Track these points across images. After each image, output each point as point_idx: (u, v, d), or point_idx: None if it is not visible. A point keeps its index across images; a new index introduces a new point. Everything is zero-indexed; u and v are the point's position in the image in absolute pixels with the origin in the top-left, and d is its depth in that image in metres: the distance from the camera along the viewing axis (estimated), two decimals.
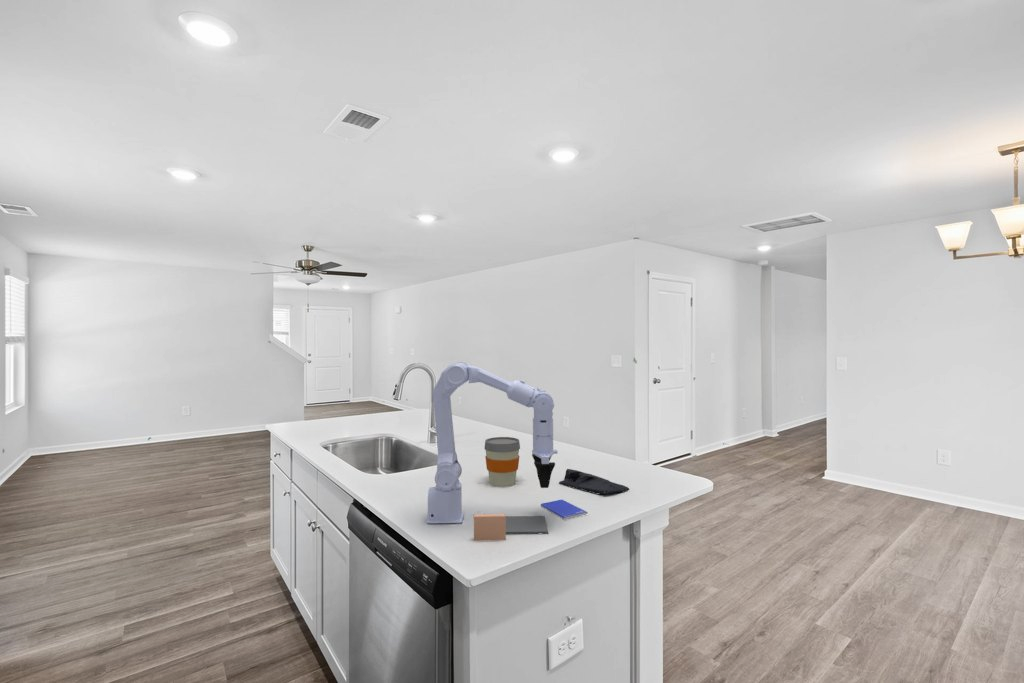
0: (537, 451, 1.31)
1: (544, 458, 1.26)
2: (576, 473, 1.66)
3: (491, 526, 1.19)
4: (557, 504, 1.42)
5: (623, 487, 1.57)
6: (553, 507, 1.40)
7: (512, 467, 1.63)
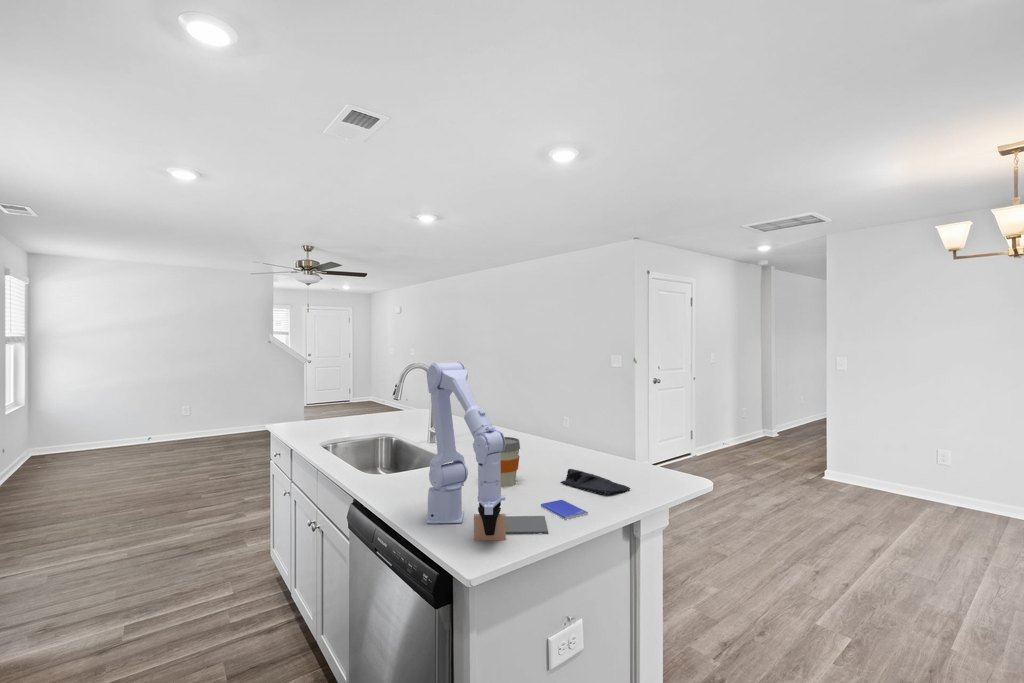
0: (482, 498, 1.18)
1: (487, 508, 1.13)
2: (578, 473, 1.66)
3: None
4: (558, 504, 1.42)
5: (624, 487, 1.57)
6: (554, 507, 1.40)
7: (512, 467, 1.63)
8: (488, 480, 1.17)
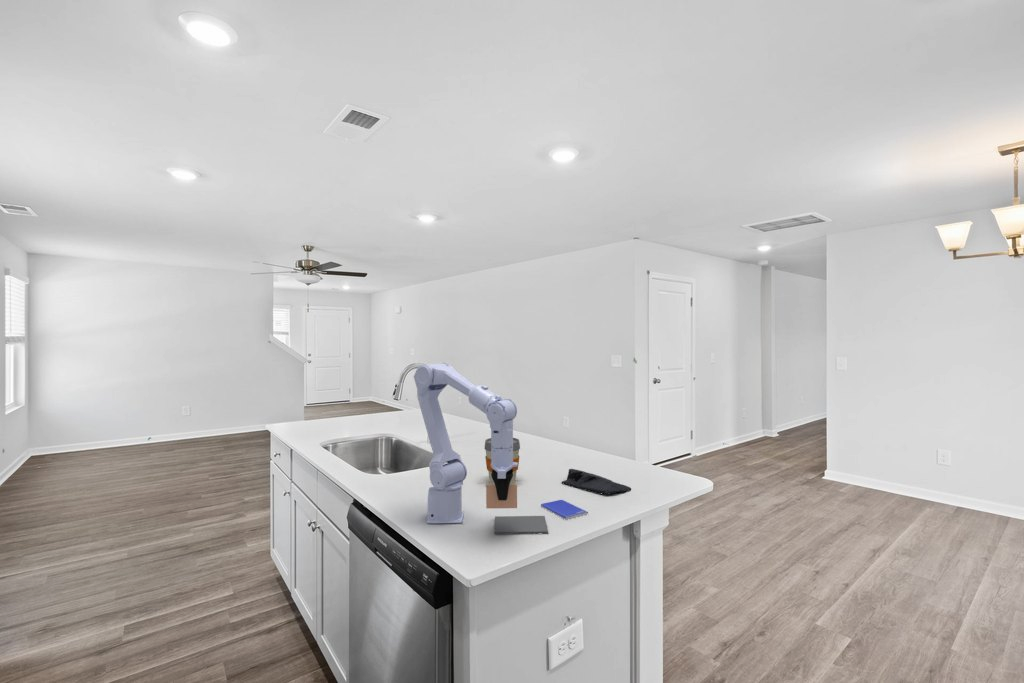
0: (495, 464, 1.21)
1: (500, 472, 1.16)
2: (579, 473, 1.66)
3: None
4: (558, 504, 1.42)
5: (625, 487, 1.57)
6: (554, 507, 1.40)
7: None
8: (504, 446, 1.21)
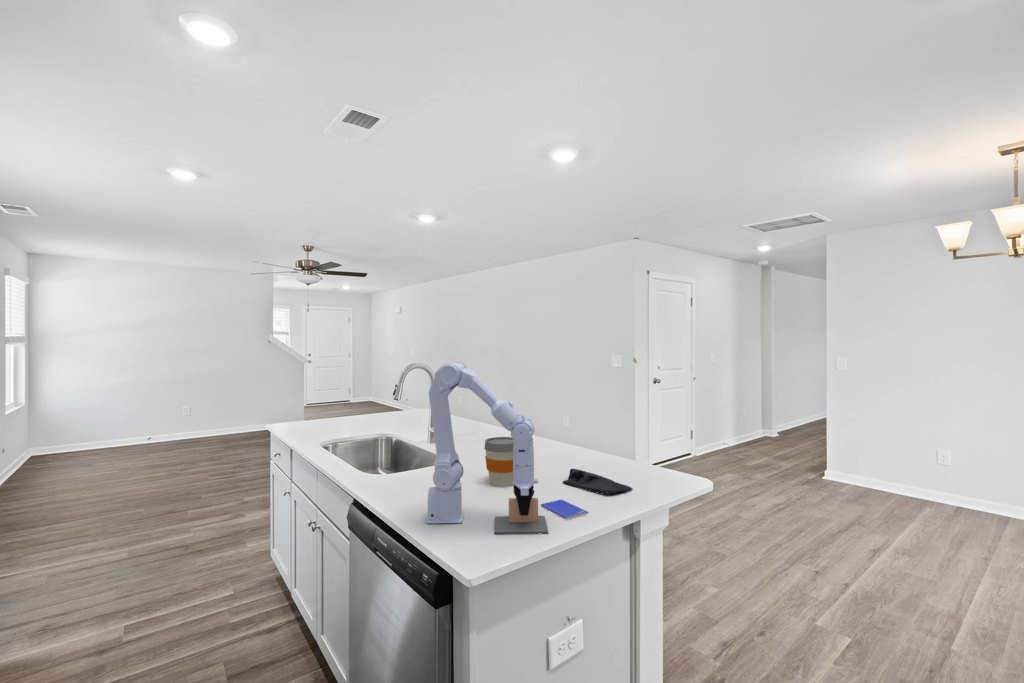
0: (517, 481, 1.28)
1: (523, 489, 1.23)
2: (580, 473, 1.67)
3: None
4: (558, 504, 1.42)
5: (626, 487, 1.56)
6: (554, 507, 1.40)
7: (512, 467, 1.63)
8: (529, 464, 1.28)
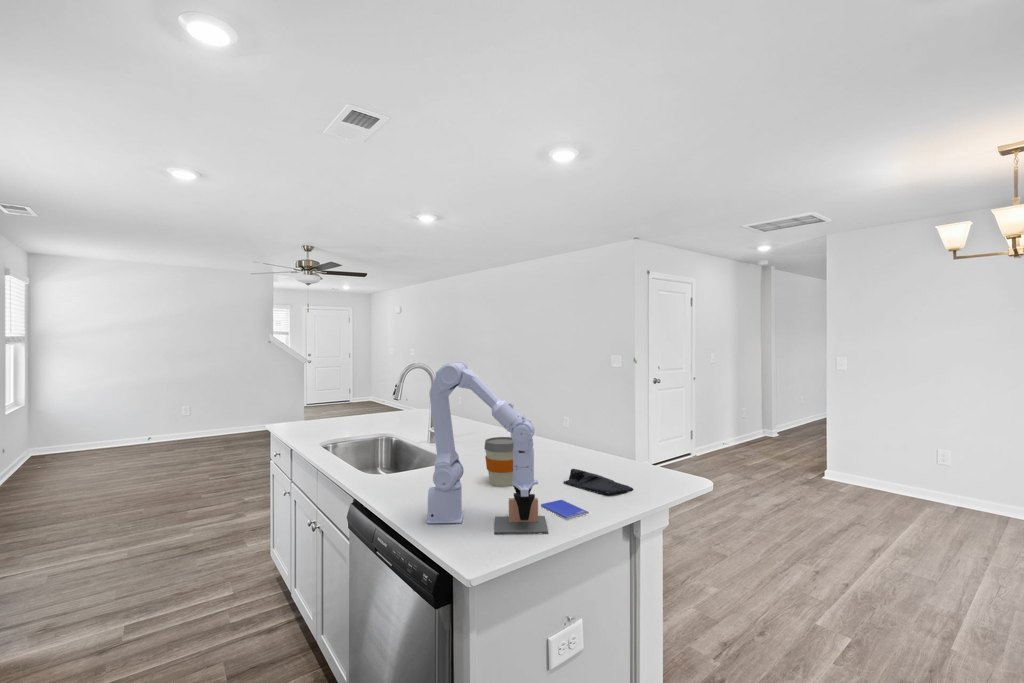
0: (517, 482, 1.28)
1: (523, 490, 1.23)
2: (580, 473, 1.67)
3: None
4: (558, 504, 1.42)
5: (627, 487, 1.56)
6: (554, 507, 1.40)
7: (512, 467, 1.63)
8: (529, 465, 1.28)
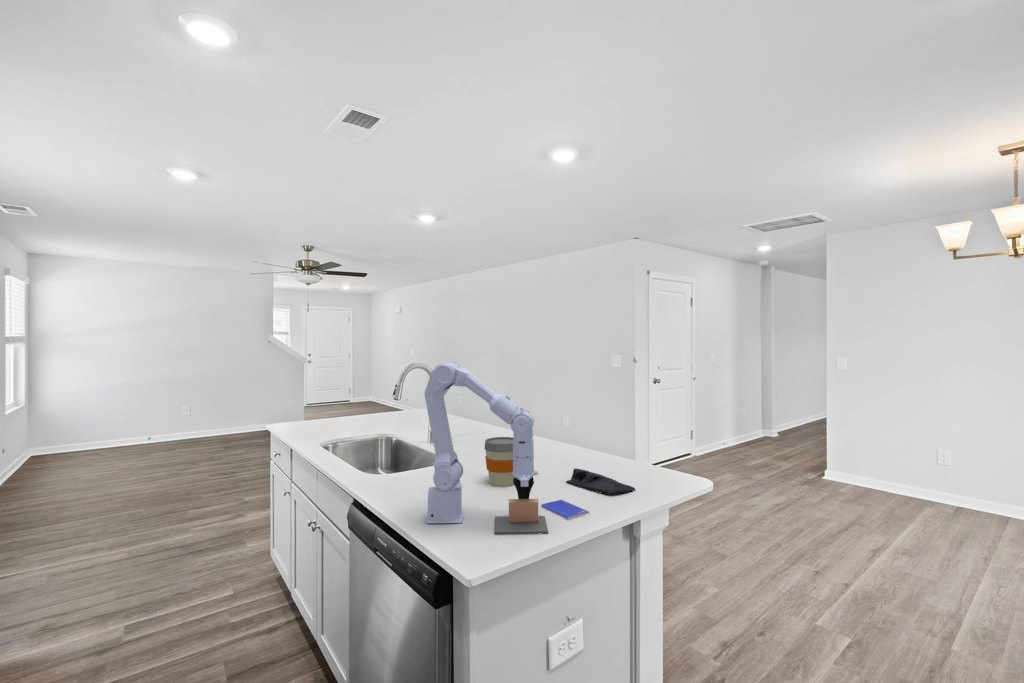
0: (517, 473, 1.28)
1: (523, 481, 1.24)
2: (583, 473, 1.67)
3: (525, 510, 1.29)
4: (558, 504, 1.42)
5: (629, 487, 1.56)
6: (554, 507, 1.40)
7: (512, 467, 1.63)
8: (529, 455, 1.29)
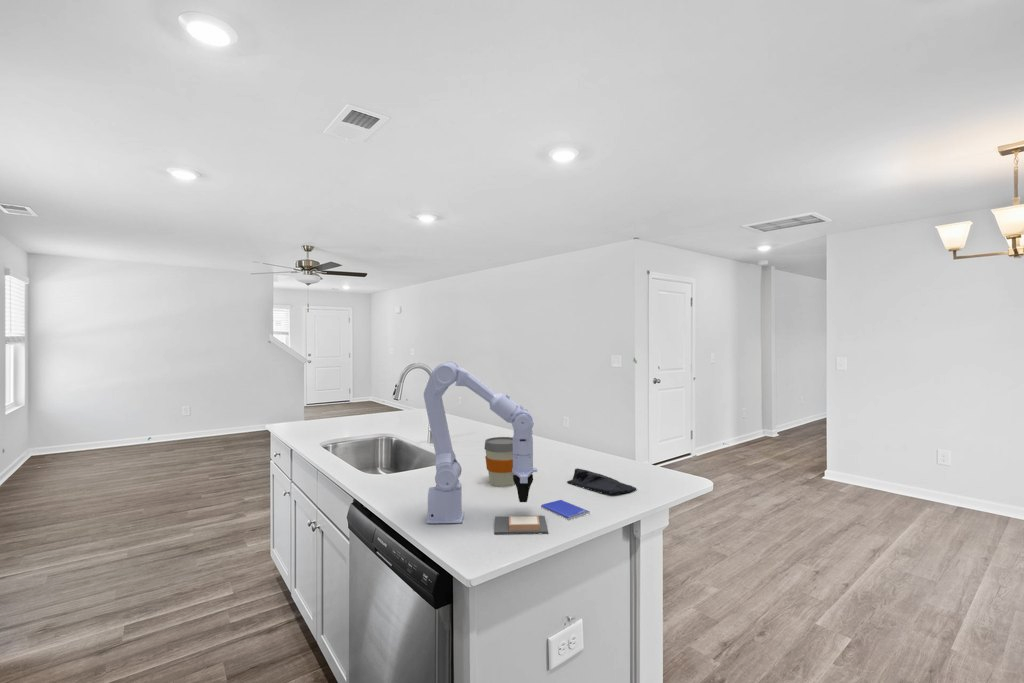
0: (516, 470, 1.31)
1: (522, 477, 1.26)
2: (584, 473, 1.67)
3: None
4: (558, 504, 1.42)
5: (630, 487, 1.56)
6: (555, 507, 1.39)
7: (512, 467, 1.63)
8: (530, 452, 1.32)
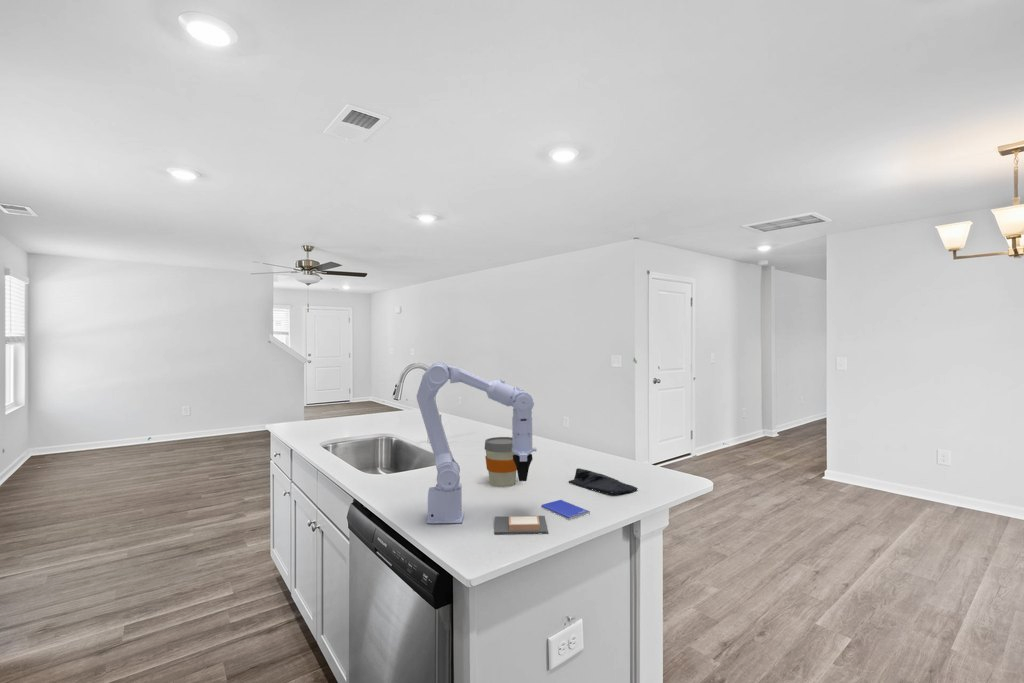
0: (516, 449, 1.34)
1: (522, 456, 1.29)
2: (586, 473, 1.67)
3: None
4: (558, 504, 1.42)
5: (632, 487, 1.56)
6: (555, 507, 1.39)
7: (512, 467, 1.63)
8: (530, 432, 1.34)
